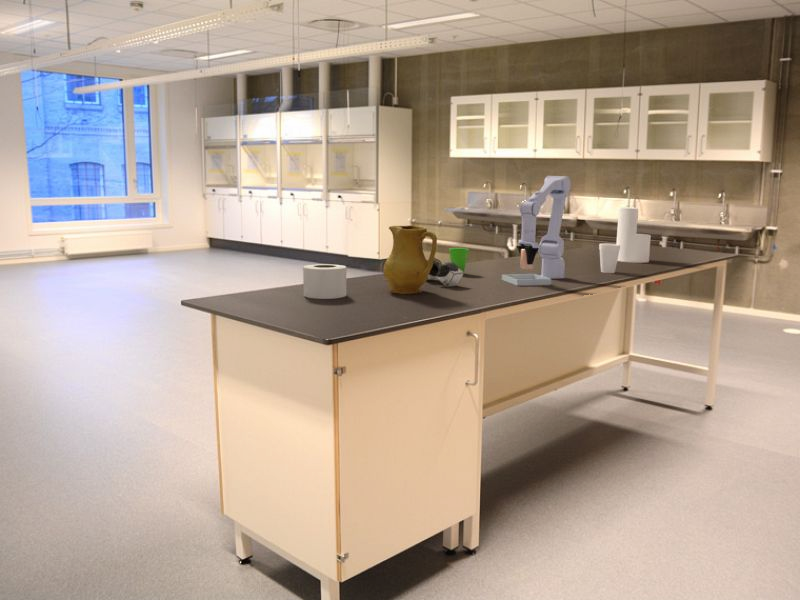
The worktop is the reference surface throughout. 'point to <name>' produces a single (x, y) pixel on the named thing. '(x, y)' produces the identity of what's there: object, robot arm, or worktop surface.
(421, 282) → the pitcher
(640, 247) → the white l-shaped piece
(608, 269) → the foam cup
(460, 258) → the cup
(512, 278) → the tray
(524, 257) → the tumbler
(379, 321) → the worktop surface
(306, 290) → the white toilet paper roll
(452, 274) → the black white sneaker
